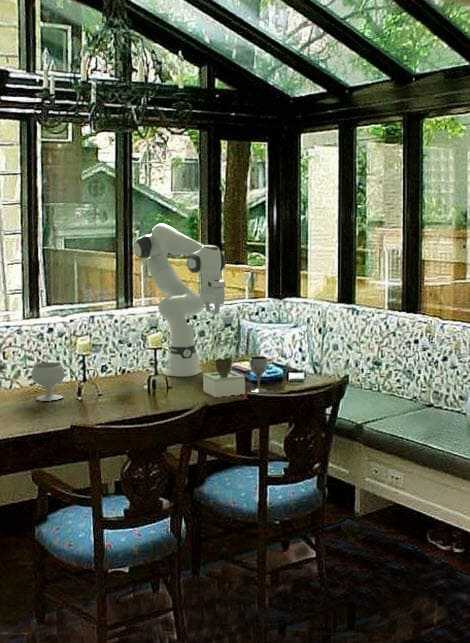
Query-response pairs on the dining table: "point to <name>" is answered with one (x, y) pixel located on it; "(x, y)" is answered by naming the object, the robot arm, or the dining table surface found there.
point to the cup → (223, 366)
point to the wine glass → (258, 369)
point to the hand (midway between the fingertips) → (212, 312)
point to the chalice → (48, 378)
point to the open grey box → (223, 384)
